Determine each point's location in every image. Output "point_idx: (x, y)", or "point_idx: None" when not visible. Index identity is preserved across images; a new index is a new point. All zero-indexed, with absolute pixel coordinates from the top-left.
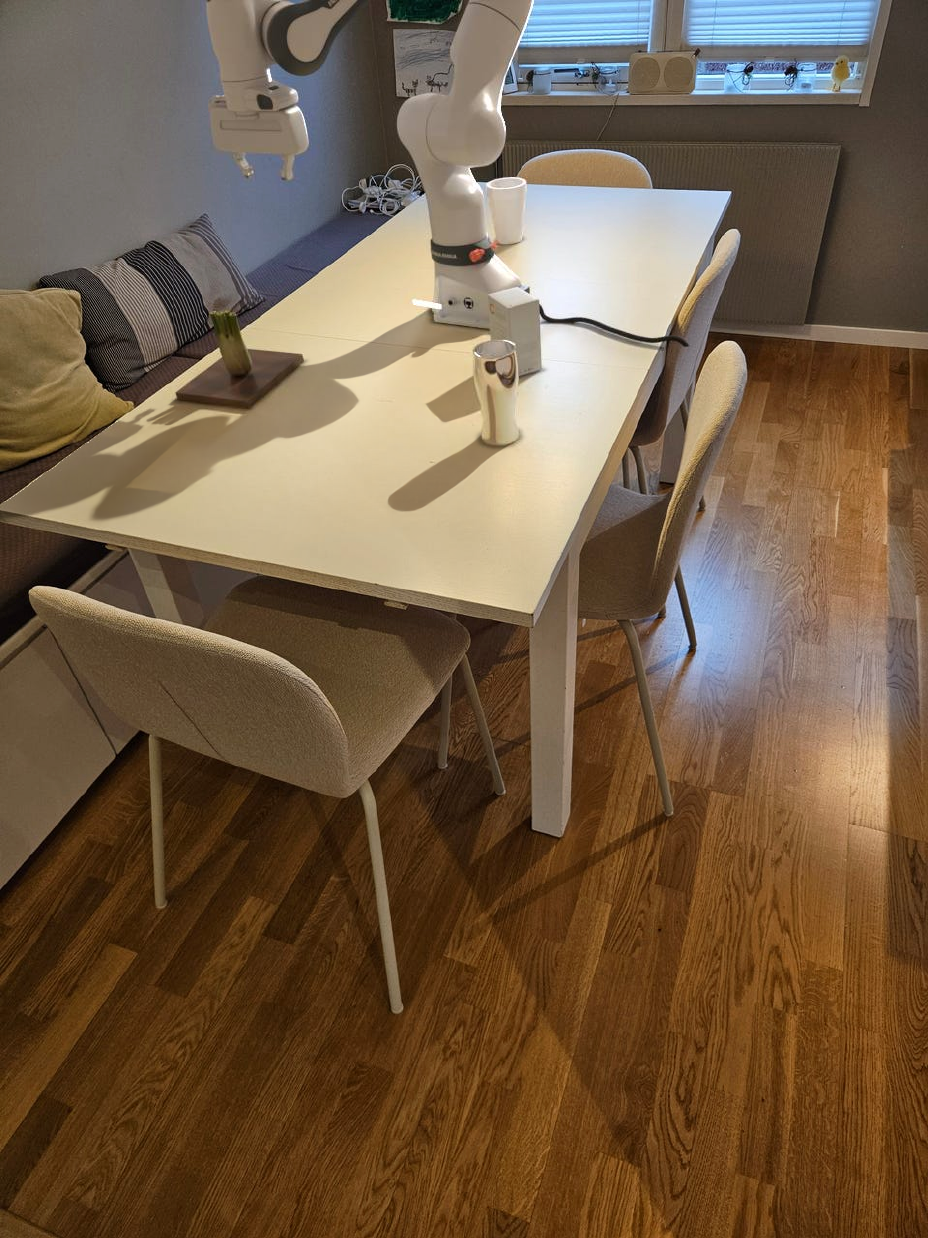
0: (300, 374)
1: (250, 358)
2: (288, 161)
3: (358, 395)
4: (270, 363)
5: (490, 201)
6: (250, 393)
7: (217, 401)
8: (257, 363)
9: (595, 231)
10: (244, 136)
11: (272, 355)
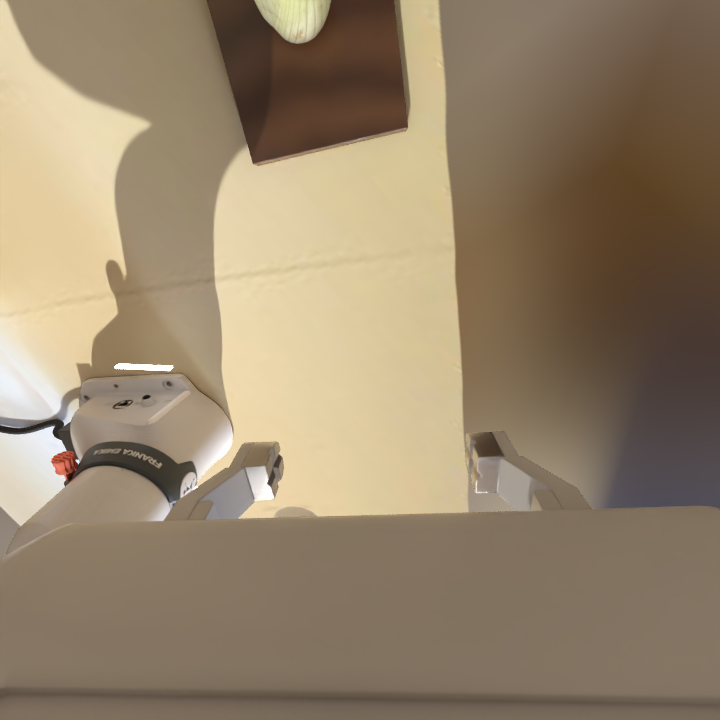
0: (219, 110)
1: (260, 11)
2: (183, 500)
3: (56, 83)
4: (276, 92)
5: None
6: None
7: None
8: (302, 79)
9: None
10: (451, 621)
11: (302, 129)
